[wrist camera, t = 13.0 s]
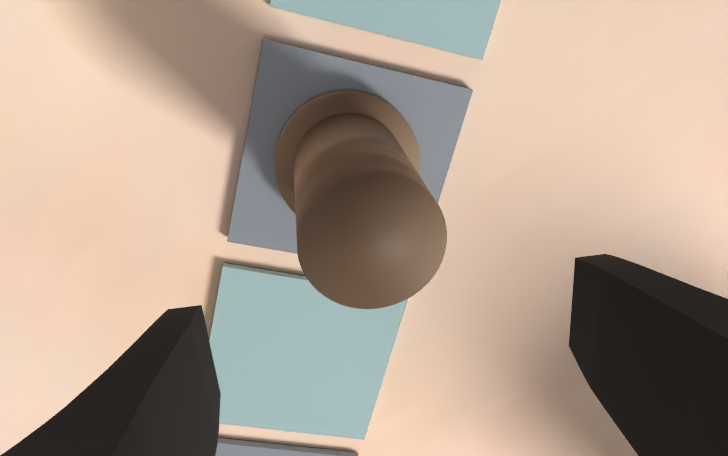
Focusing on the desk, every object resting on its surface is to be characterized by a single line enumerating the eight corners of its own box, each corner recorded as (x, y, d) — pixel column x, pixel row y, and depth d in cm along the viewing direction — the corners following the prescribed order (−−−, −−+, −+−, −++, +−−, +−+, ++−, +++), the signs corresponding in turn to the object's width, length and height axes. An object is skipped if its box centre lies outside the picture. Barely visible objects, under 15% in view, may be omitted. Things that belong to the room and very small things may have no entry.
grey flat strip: (670, -561, 15) (678, -570, 14) (322, 566, 29) (322, 571, 28) (396, -701, 13) (398, -714, 13) (170, 555, 27) (169, 562, 27)
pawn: (413, 82, 20) (472, 136, 14) (417, 217, 22) (470, 317, 16) (266, 95, 19) (257, 156, 13) (283, 231, 21) (283, 340, 15)
